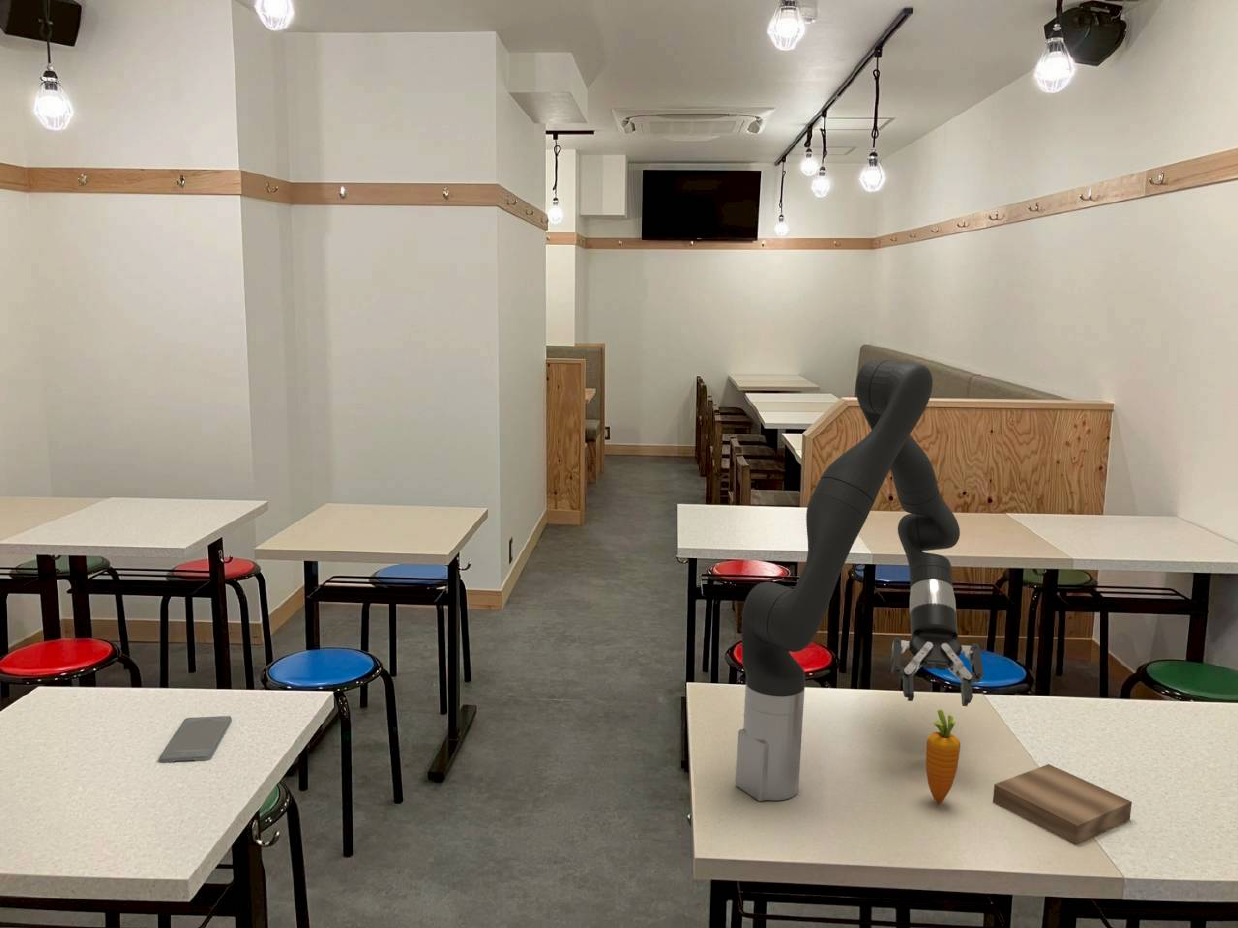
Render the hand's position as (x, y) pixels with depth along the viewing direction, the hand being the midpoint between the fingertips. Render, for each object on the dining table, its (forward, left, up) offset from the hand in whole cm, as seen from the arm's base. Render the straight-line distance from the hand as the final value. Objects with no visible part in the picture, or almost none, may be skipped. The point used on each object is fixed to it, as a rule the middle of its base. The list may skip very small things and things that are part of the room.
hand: (938, 701), depth 153 cm
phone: (-101, +73, -15) cm, 125 cm away
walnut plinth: (+10, -16, -14) cm, 24 cm away
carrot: (-5, -5, -14) cm, 16 cm away
